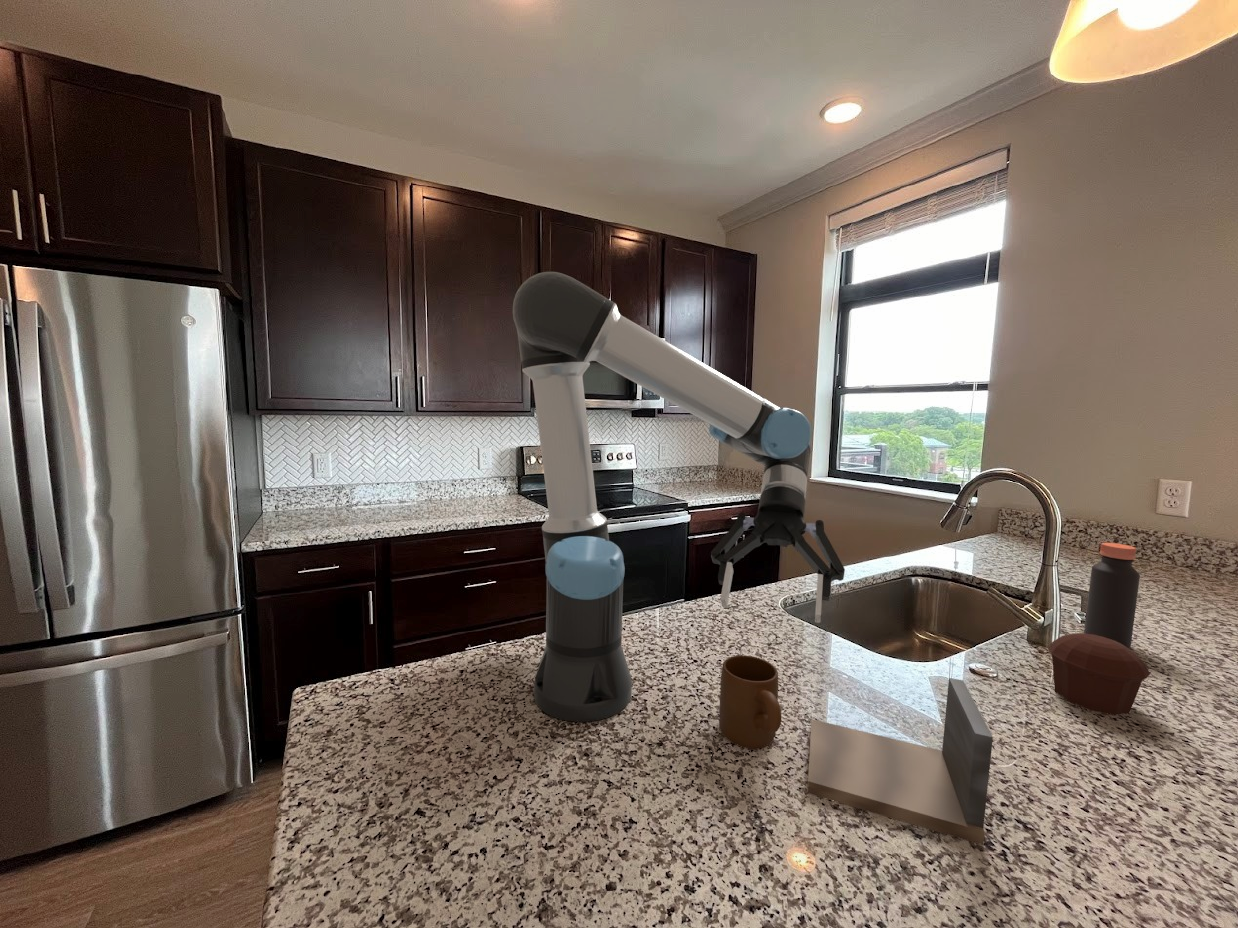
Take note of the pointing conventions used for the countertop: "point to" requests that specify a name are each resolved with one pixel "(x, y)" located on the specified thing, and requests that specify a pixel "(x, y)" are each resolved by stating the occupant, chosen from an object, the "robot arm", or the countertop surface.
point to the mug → (749, 702)
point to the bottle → (1113, 594)
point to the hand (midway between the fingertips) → (769, 610)
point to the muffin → (1096, 672)
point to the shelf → (910, 771)
